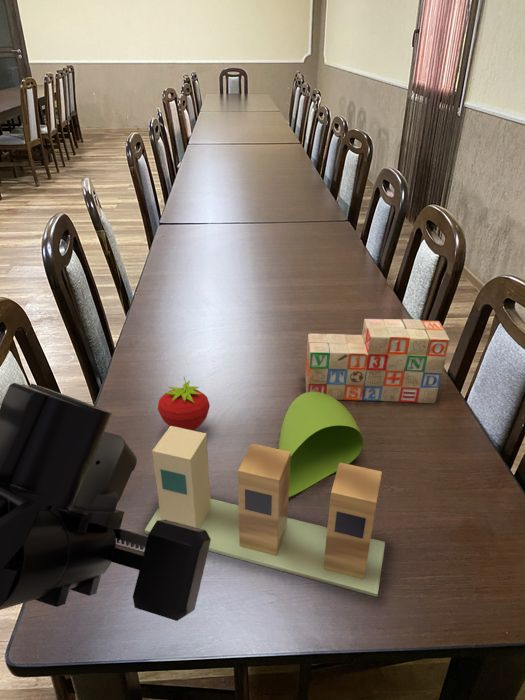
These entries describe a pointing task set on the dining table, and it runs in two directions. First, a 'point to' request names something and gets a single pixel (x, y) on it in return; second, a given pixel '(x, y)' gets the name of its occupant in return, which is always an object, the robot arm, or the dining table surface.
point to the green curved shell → (317, 439)
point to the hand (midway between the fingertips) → (133, 536)
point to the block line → (299, 524)
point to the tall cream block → (182, 476)
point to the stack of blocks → (379, 361)
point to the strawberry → (184, 407)
